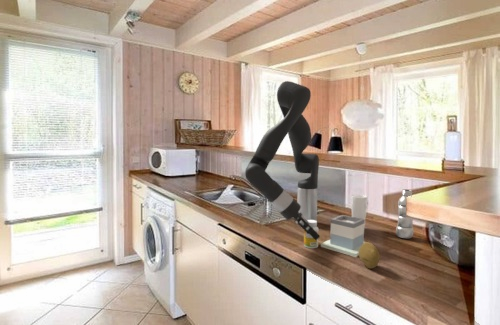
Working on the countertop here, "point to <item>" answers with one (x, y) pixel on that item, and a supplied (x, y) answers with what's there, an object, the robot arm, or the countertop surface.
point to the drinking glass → (359, 206)
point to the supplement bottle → (308, 239)
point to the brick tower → (346, 235)
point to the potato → (369, 255)
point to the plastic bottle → (404, 217)
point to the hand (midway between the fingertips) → (315, 234)
